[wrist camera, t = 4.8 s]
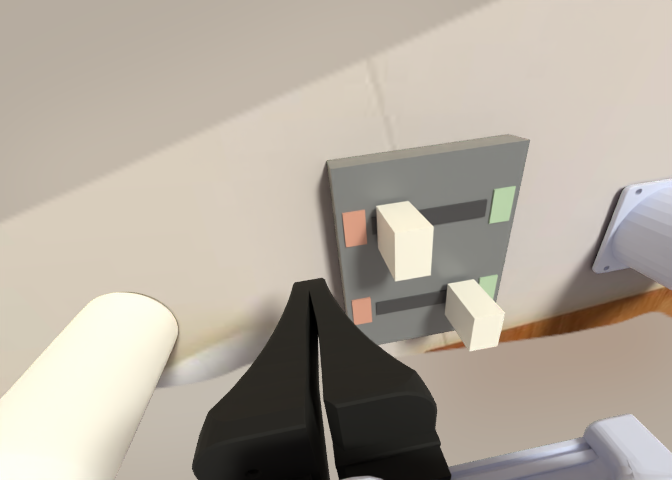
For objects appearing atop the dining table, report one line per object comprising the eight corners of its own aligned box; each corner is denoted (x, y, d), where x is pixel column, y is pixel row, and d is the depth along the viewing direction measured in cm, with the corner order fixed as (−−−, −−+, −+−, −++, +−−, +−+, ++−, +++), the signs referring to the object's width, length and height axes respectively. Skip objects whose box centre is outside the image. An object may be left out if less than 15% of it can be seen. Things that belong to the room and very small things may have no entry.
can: (182, 353, 24) (101, 559, 14) (93, 351, 23) (-71, 578, 13) (178, 291, 21) (71, 492, 11) (75, 285, 20) (-158, 508, 10)
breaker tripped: (408, 201, 18) (433, 226, 15) (407, 243, 19) (430, 275, 16) (376, 206, 18) (394, 233, 14) (378, 248, 19) (395, 281, 16)
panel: (508, 134, 19) (531, 140, 17) (478, 307, 26) (492, 324, 25) (326, 160, 18) (330, 169, 16) (347, 331, 26) (352, 351, 24)
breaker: (473, 279, 22) (504, 312, 18) (469, 309, 23) (497, 346, 20) (447, 283, 21) (474, 318, 18) (444, 314, 23) (469, 351, 20)
